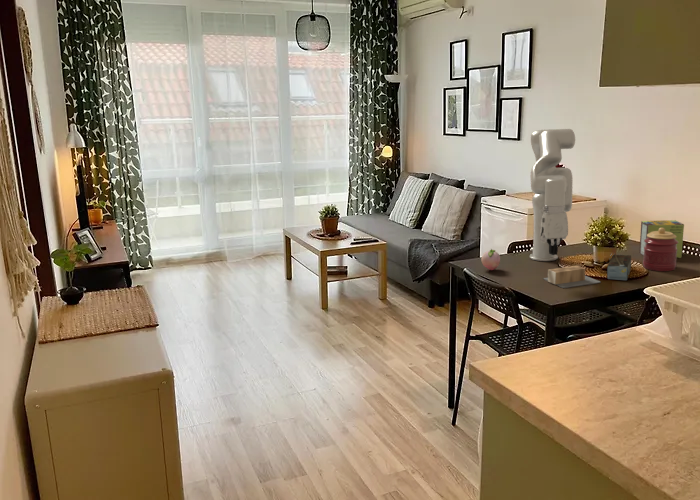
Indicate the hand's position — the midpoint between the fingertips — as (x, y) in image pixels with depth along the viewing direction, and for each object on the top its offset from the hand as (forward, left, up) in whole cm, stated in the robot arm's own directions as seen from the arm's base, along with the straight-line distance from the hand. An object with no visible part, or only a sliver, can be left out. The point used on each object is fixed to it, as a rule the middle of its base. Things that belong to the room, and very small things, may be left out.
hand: (553, 254), depth 238 cm
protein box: (-17, +69, -13) cm, 72 cm away
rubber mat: (0, +9, -12) cm, 15 cm away
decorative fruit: (-28, -13, -13) cm, 33 cm away
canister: (-1, +53, -13) cm, 55 cm away
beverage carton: (0, +33, -13) cm, 35 cm away
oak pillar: (0, -1, -10) cm, 10 cm away
